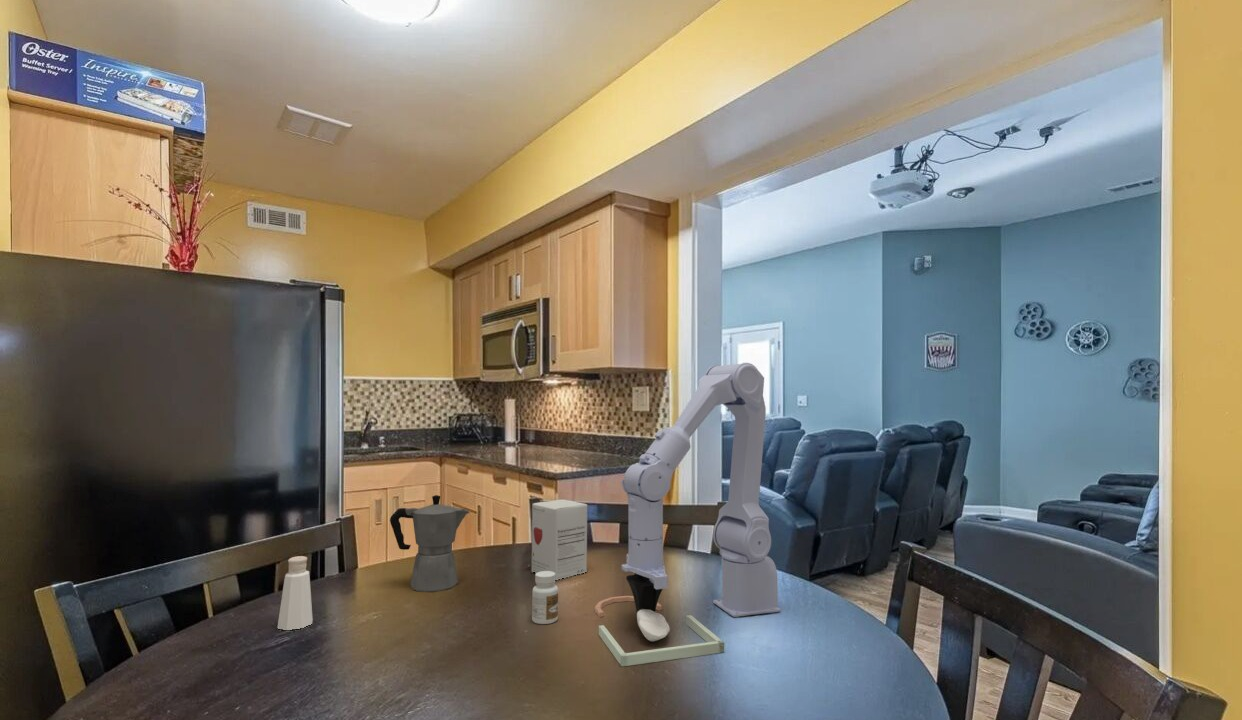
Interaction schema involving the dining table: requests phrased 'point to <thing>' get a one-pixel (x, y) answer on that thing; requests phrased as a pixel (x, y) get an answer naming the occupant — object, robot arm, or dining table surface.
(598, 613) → the segmented c-shaped arc
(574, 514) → the supplement box
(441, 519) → the coffeepot
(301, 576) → the pepper shaker
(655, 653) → the pale green u-frame
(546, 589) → the pill bottle
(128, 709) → the dining table surface
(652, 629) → the dumpling
